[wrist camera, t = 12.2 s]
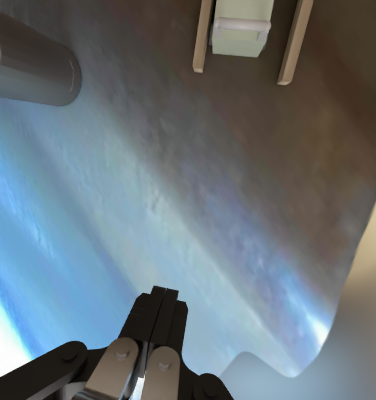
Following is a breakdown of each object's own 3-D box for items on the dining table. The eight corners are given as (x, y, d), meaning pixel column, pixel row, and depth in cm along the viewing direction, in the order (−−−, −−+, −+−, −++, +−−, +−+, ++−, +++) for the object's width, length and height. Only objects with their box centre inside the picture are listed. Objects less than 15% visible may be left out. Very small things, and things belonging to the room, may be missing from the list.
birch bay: (194, 71, 34) (191, 62, 29) (212, -51, 29) (211, -86, 24) (284, 85, 33) (296, 77, 28) (317, -39, 28) (338, -73, 24)
